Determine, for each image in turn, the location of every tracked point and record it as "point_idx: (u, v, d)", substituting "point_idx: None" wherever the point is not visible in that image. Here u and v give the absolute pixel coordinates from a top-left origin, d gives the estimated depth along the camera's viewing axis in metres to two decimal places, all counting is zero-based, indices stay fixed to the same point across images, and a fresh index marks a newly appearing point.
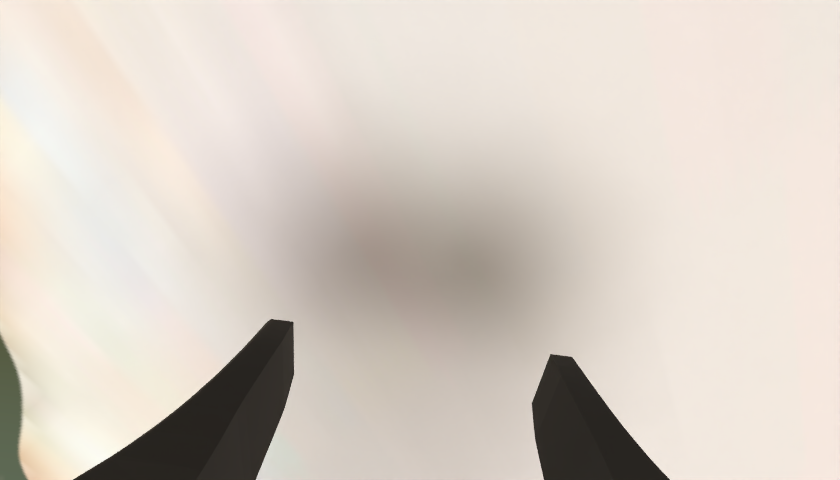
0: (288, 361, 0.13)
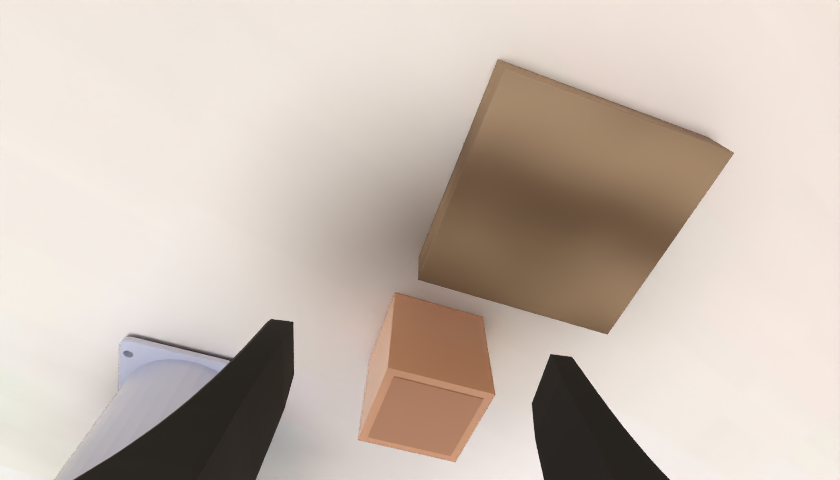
0: (288, 361, 0.13)
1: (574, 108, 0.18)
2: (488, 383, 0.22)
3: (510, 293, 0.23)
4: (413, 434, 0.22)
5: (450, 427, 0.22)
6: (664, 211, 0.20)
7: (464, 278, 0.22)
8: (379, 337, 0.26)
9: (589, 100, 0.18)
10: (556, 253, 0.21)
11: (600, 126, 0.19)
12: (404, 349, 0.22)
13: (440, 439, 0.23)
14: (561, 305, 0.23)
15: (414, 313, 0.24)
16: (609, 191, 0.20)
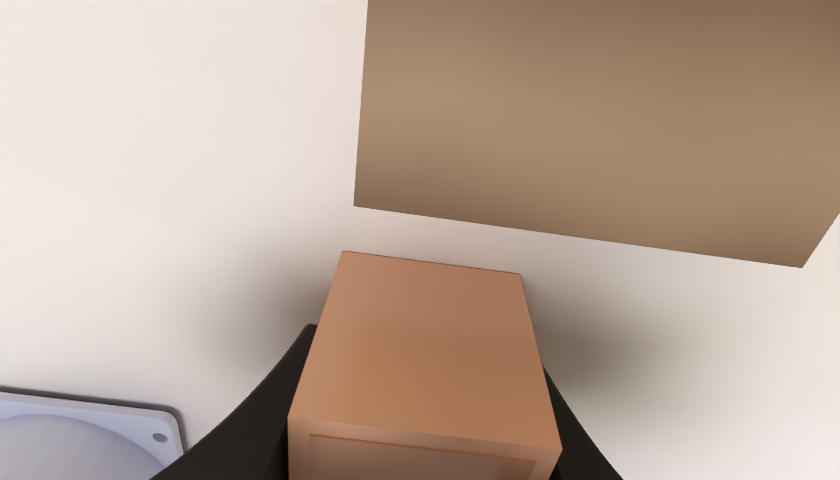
0: None
1: None
2: (543, 421, 0.09)
3: (564, 206, 0.10)
4: None
5: None
6: None
7: (453, 186, 0.10)
8: None
9: None
10: (664, 79, 0.09)
11: None
12: (340, 366, 0.10)
13: None
14: (688, 215, 0.10)
15: (377, 285, 0.12)
16: None
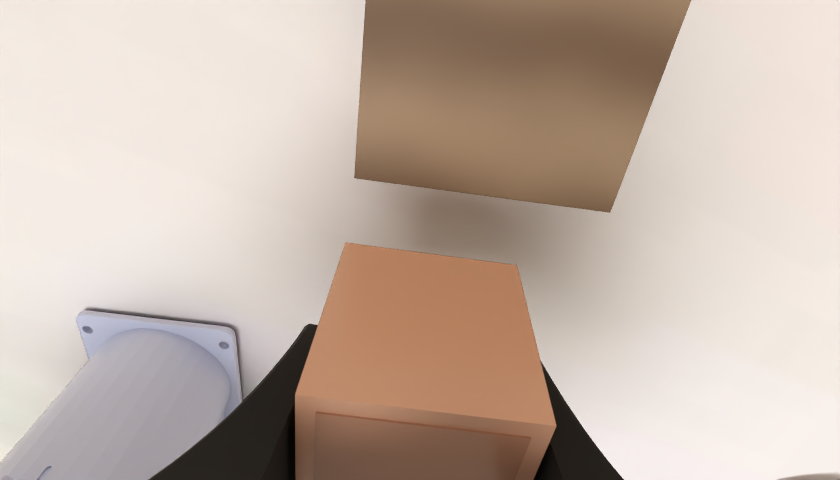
0: None
1: None
2: (538, 400, 0.10)
3: (471, 177, 0.18)
4: None
5: None
6: (646, 16, 0.15)
7: (409, 166, 0.18)
8: None
9: None
10: (515, 108, 0.17)
11: None
12: (345, 348, 0.10)
13: None
14: (540, 182, 0.18)
15: (378, 274, 0.12)
16: (563, 2, 0.15)
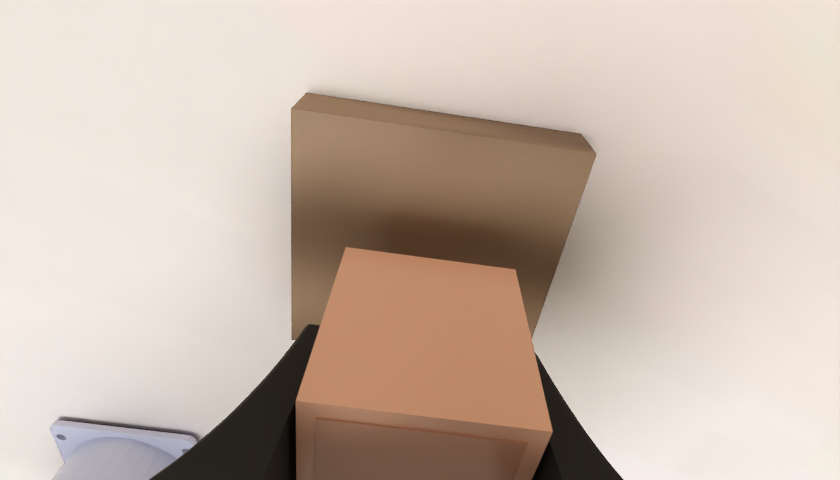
0: None
1: (387, 137, 0.16)
2: (535, 405, 0.10)
3: None
4: None
5: None
6: (536, 231, 0.17)
7: None
8: None
9: (400, 125, 0.15)
10: None
11: (425, 152, 0.16)
12: (345, 354, 0.10)
13: None
14: None
15: (378, 279, 0.13)
16: (463, 219, 0.17)
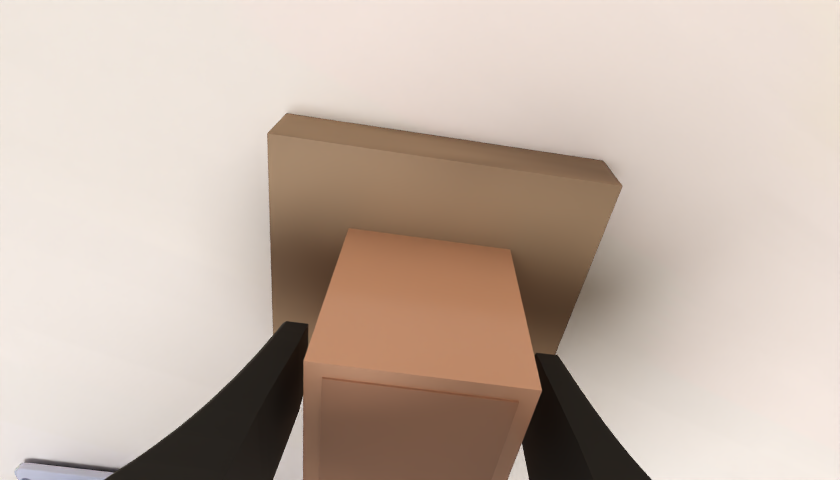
0: None
1: (379, 166, 0.13)
2: (526, 368, 0.10)
3: None
4: None
5: (464, 462, 0.11)
6: (550, 271, 0.15)
7: None
8: None
9: (394, 153, 0.13)
10: None
11: (423, 183, 0.14)
12: (348, 322, 0.11)
13: None
14: None
15: (380, 257, 0.13)
16: None
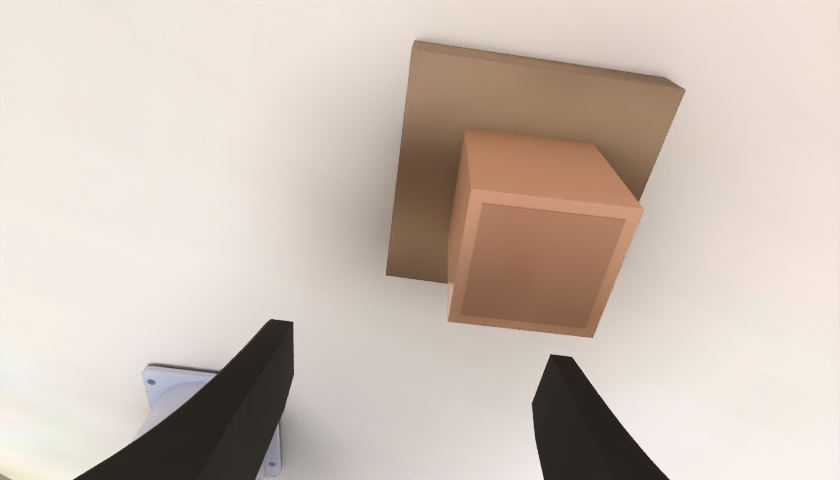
0: (288, 361, 0.13)
1: (496, 76, 0.17)
2: (628, 199, 0.14)
3: None
4: (525, 300, 0.15)
5: (578, 279, 0.15)
6: (623, 166, 0.19)
7: (431, 267, 0.22)
8: (455, 199, 0.19)
9: (509, 64, 0.17)
10: None
11: (528, 89, 0.17)
12: (491, 173, 0.15)
13: (567, 302, 0.15)
14: None
15: (496, 143, 0.17)
16: None
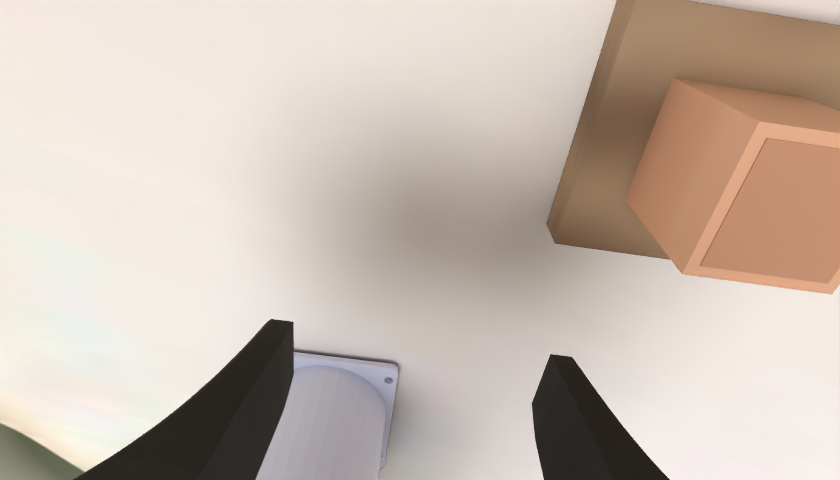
0: (288, 361, 0.13)
1: (720, 23, 0.16)
2: None
3: (656, 244, 0.21)
4: (775, 250, 0.15)
5: None
6: None
7: (605, 234, 0.21)
8: (651, 154, 0.18)
9: (737, 10, 0.16)
10: None
11: (752, 37, 0.17)
12: (756, 111, 0.14)
13: (819, 253, 0.15)
14: None
15: (721, 90, 0.16)
16: None
